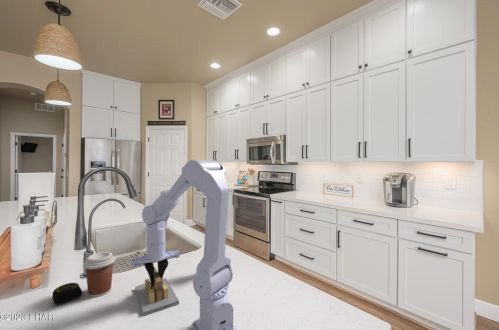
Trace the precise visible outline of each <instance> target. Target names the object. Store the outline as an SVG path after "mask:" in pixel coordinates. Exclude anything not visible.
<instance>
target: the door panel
mask: <svg viewBox="0 0 499 330" xmlns="http://www.w3.org/2000/svg"><path fill="white" fill-rule="evenodd" d="M150 287H151V289H153V290H154V297H155V299H156V301H157V302H158V301H162V279H161V277H160V276H159V274H158V269H157V268H156V267H154V286H153V287H152V286H151V283H150Z"/></svg>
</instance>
